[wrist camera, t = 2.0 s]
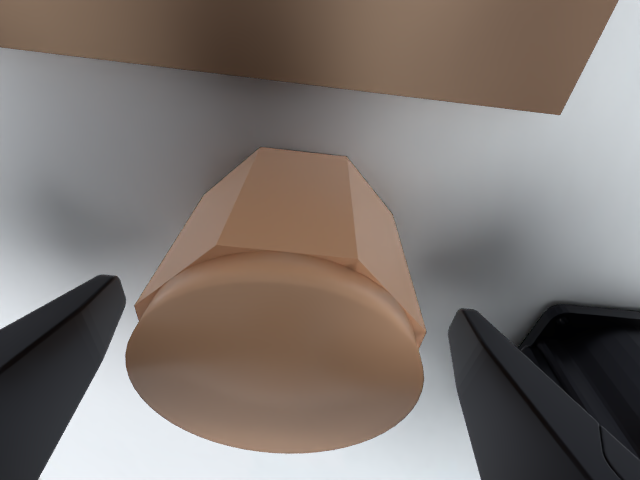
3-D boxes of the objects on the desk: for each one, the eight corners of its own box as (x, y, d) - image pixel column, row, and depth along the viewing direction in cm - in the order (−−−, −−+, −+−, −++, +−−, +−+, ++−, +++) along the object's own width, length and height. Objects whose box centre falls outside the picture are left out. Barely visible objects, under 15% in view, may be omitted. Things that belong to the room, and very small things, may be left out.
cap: (406, 163, 10) (469, 300, 5) (367, 306, 13) (386, 461, 9) (198, 139, 10) (85, 264, 5) (213, 291, 13) (154, 444, 9)
